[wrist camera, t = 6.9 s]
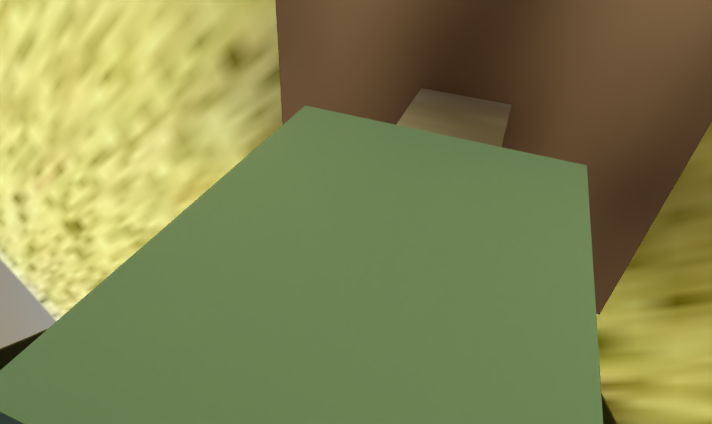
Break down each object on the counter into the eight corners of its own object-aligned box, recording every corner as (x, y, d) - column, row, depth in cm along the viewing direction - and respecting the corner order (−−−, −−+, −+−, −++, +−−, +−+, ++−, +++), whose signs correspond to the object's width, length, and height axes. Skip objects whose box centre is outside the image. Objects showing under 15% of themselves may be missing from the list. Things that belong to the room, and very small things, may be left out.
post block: (783, -58, 10) (1166, 59, 4) (597, 284, 17) (615, 537, 10) (295, -100, 13) (34, -76, 7) (304, 204, 20) (179, 362, 13)
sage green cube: (586, 165, 8) (621, 721, 3) (507, 352, 11) (455, 760, 6) (305, 105, 9) (-31, 396, 4) (309, 287, 12) (128, 574, 7)
